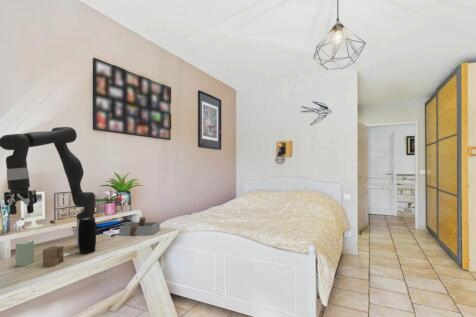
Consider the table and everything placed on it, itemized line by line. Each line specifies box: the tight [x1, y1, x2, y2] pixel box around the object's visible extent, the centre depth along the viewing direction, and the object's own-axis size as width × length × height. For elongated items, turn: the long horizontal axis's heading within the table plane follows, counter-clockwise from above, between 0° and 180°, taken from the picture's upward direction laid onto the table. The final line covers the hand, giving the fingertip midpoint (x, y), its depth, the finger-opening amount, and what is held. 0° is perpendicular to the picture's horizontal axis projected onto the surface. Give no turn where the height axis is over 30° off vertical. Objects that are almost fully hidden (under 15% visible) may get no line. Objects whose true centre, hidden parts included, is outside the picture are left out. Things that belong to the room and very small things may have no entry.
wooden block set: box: [130, 216, 150, 236], centre depth 187 cm, size 18×9×10 cm, turn 153°
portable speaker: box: [78, 216, 97, 255], centre depth 146 cm, size 9×9×20 cm
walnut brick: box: [42, 245, 64, 267], centre depth 128 cm, size 6×6×8 cm
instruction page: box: [40, 252, 72, 260], centre depth 139 cm, size 8×11×1 cm
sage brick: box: [15, 240, 35, 267], centre depth 129 cm, size 5×5×11 cm
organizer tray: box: [118, 221, 161, 237], centre depth 188 cm, size 16×24×6 cm, turn 88°
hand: (22, 213), depth 115 cm, fingers open, 8 cm apart
